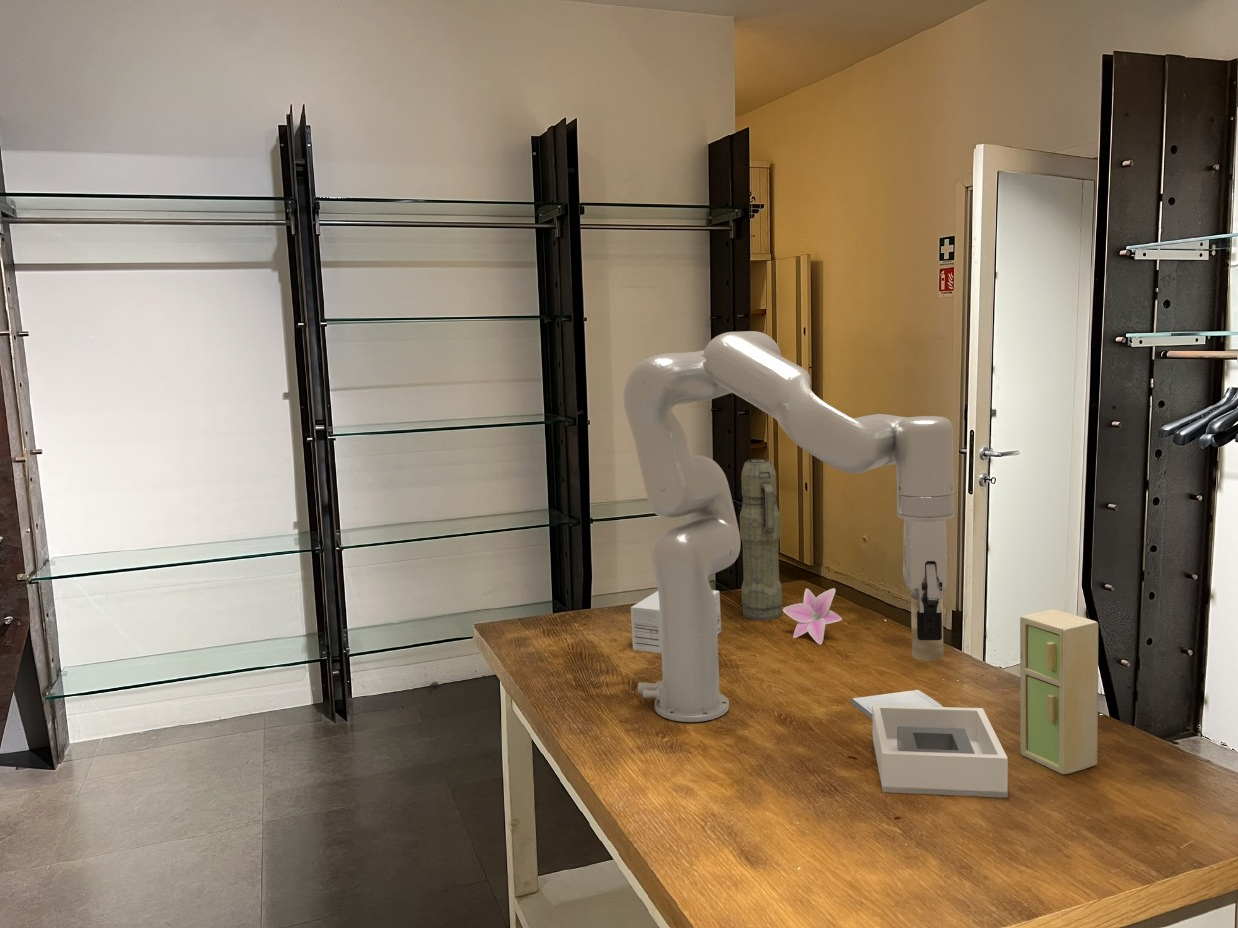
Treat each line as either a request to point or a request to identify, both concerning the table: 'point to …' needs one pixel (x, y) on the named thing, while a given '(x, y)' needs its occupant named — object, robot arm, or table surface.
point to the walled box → (938, 751)
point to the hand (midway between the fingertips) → (927, 632)
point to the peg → (924, 648)
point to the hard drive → (894, 701)
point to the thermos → (760, 541)
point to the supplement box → (654, 623)
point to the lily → (813, 614)
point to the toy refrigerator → (1059, 690)
